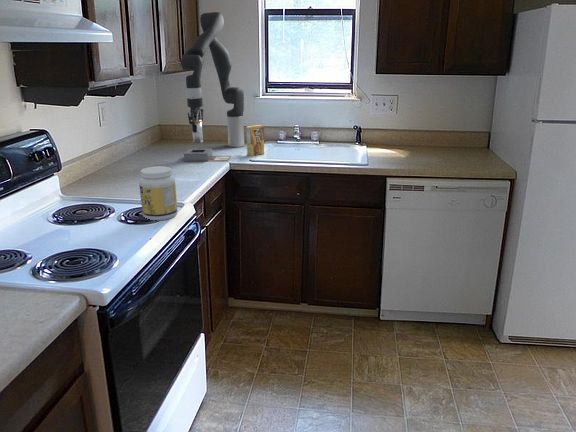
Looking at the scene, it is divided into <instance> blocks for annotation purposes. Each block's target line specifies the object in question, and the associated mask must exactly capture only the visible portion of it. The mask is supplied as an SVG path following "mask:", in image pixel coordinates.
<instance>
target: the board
mask: <svg viewBox="0 0 576 432" xmlns="http://www.w3.org/2000/svg"><path fill="white" fill-rule="evenodd" d="M231 157H232V155H212V157H211V158H210V160H209V161H184V160H183V161H184V162H185V163H193V162H194V163H195V162H196V163H197V162H198V163H200V162H201V163H205V162H207V163H209V162H211V163H212V162H213V163H215V162H217V163H218V162H219V163H220V162H221V163H223V162H228V161H229V160H230V159H231Z"/></svg>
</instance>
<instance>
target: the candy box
mask: <svg viewBox="0 0 576 432" xmlns="http://www.w3.org/2000/svg"><path fill="white" fill-rule="evenodd" d="M245 129H246V155H247V156H251V157H253V156H259V155H263V154H264V155H265V126H264V125H262V124H258V125H250V126H249V125H248V126H246V128H245Z"/></svg>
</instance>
